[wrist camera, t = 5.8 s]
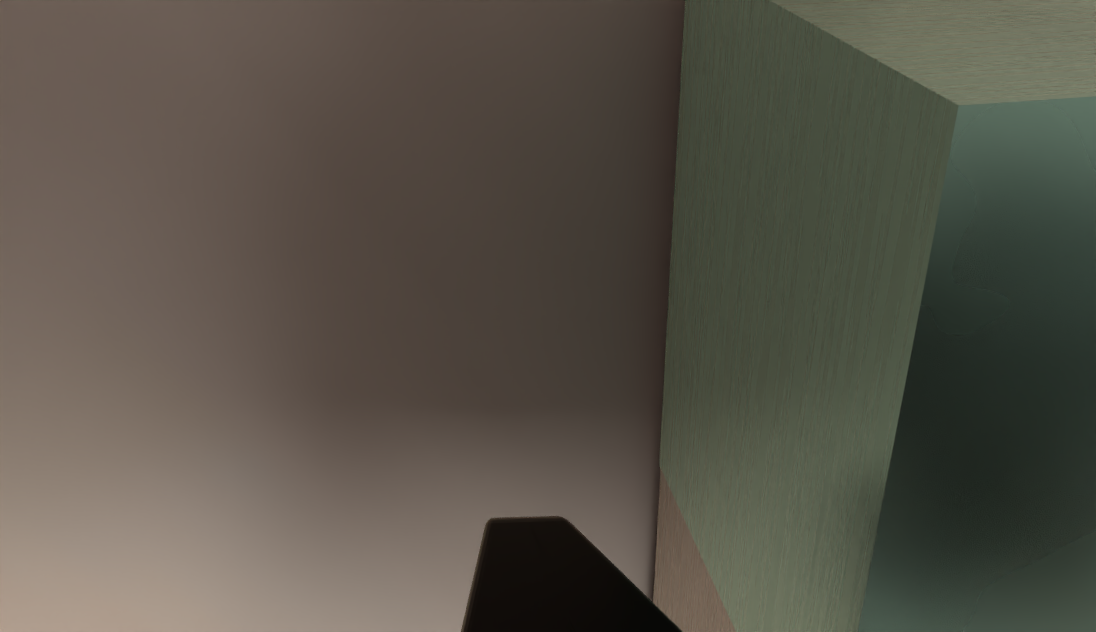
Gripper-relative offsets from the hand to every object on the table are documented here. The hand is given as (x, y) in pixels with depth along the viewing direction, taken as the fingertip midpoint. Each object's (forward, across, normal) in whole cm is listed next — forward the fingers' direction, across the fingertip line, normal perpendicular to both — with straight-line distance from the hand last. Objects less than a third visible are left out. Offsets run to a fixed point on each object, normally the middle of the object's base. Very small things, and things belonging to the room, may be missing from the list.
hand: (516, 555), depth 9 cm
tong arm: (+1, -3, +4) cm, 5 cm away
